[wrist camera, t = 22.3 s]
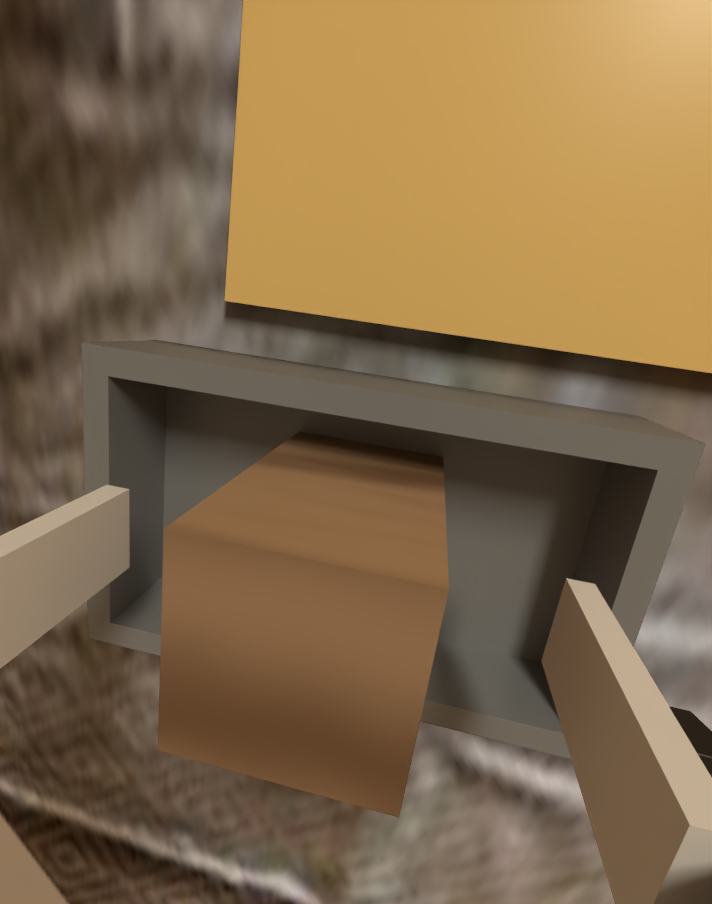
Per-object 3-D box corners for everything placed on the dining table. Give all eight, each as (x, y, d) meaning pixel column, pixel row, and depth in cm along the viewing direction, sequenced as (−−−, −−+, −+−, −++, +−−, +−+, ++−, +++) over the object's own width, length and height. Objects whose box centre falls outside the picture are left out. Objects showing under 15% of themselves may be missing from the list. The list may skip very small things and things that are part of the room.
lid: (259, -56, 16) (184, -217, 11) (1123, -20, 13) (1525, -228, 8) (235, 302, 19) (168, 292, 15) (921, 404, 16) (1122, 434, 11)
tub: (157, 340, 20) (81, 342, 16) (640, 416, 18) (705, 443, 13) (152, 582, 24) (87, 637, 19) (560, 675, 21) (591, 764, 17)
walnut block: (299, 431, 19) (163, 528, 10) (443, 457, 19) (448, 589, 9) (285, 559, 21) (157, 750, 11) (417, 588, 20) (399, 817, 11)
